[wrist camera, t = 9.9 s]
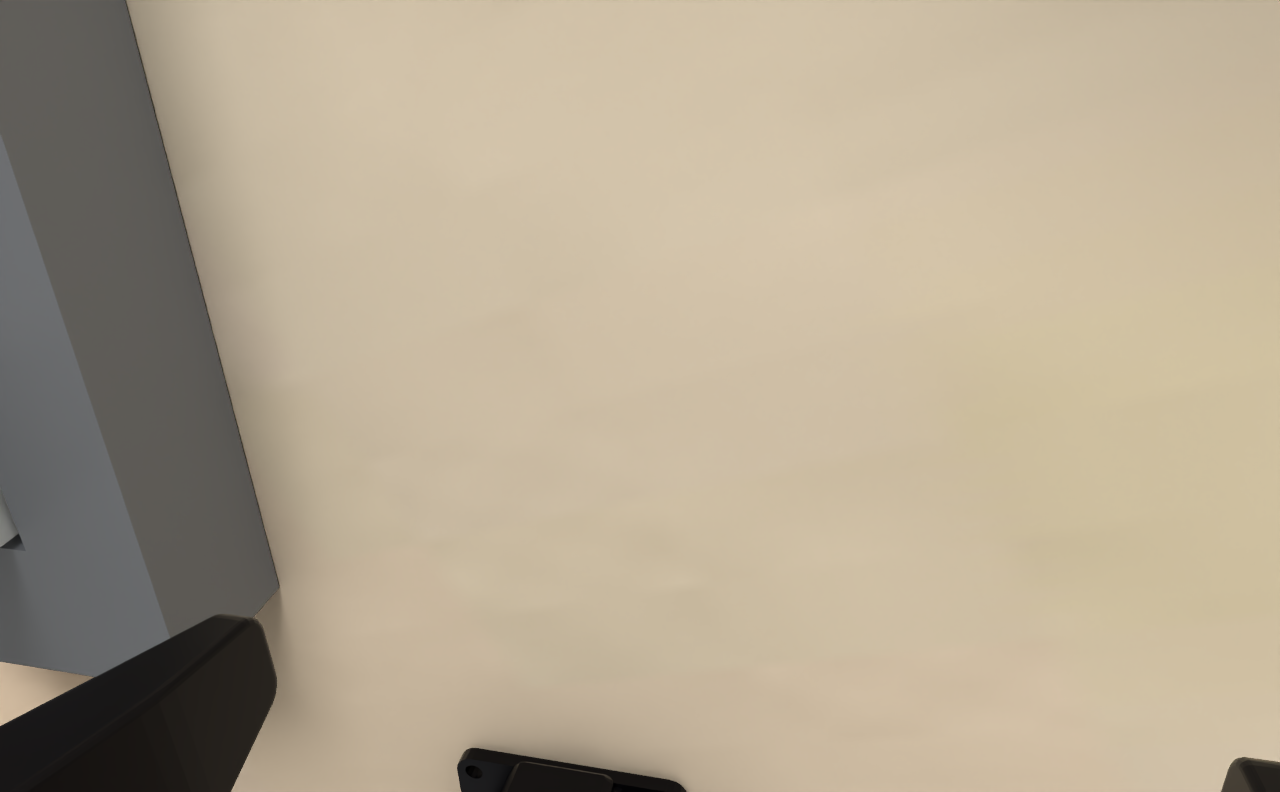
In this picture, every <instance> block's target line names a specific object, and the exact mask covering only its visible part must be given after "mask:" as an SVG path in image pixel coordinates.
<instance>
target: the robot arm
mask: <svg viewBox="0 0 1280 792" xmlns="http://www.w3.org/2000/svg"><path fill="white" fill-rule="evenodd" d="M276 688H277V677H276V672H275V669H274V665H273V662H272V658H271V655H270V651H269V647H268V644H267V640H266V637H265V633H264V630H263V627H262V625H261V624H260V623H259V622H258V620H257V619H254V618H252V617H247V616H240V615H233V614H217V615H214V616H212V617H210V618H208V619H206V620H204V621H202V622H200V623H198V624H196V625H194V626H192V627H191V628H189V629H187V630H185V631H183V632H181V633H179V634H177V635H175V636H173V637H171V638H169V639H167V640H166V641H164V642H162V643H160V644H158V645H156V646H154V647H152V648H150V649H148V650H146V651H144V652H142V653H141V654H139V655H137V656H135V657H133V658H131V659H129V660H127V661H125V662H123V663H121V664H119V665H117V666H115V667H114V668H112V669H110V670H108V671H106V672H104V673H102V674H100V675H98V676H96V677H94V678H92V679H90V680H88V681H87V682H85V683H83V684H81V685H79V686H77V687H75V688H73V689H71V690H69V691H67V692H65V693H63V694H61V695H60V696H58V697H56V698H54V699H52V700H50V701H48V702H46V703H44V704H42V705H40V706H38V707H36V708H34V709H33V710H31V711H29V712H27V713H25V714H23V715H21V716H19V717H17V718H15V719H13V720H11V721H9V722H8V723H6V724H4V725H2V726H0V792H231V790H232V788H233V786H234V784H235V782H236V780H237V777H238V775H239V773H240V771H241V769H242V767H243V765H244V763H245V761H246V758H247V756H248V754H249V752H250V750H251V748H252V746H253V744H254V742H255V739H256V737H257V735H258V733H259V731H260V729H261V727H262V725H263V723H264V720H265V718H266V716H267V714H268V712H269V710H270V708H271V706H272V703H273V701H274V698H275V694H276ZM457 770H458V776H459V781H460V787H461V792H686V790H685V789H684V788H683V787H682V786H681V785H680V784H678V783H677V782H674V781H671V780H667V779H661V778H655V777H649V776H643V775H637V774H630V773H624V772H618V771H612V770H606V769H600V768H594V767H588V766H582V765H576V764H570V763H564V762H558V761H552V760H545V759H539V758H533V757H527V756H521V755H515V754H509V753H503V752H497V751H491V750H485V749H479V748H470V749H468V750H466V751H465V752H464V753H463V755H462V757H461V759H460V761H459V763H458V767H457ZM1221 792H1280V762H1275V761H1268V760H1261V759H1254V758H1247V757H1242V758H1237V759H1235V760H1234V761H1233V762H1232V764H1231V765H1230V767H1229V769H1228V772H1227V775H1226V778H1225V781H1224V784H1223V788H1222V791H1221Z"/></svg>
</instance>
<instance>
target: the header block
mask: <svg viewBox="0 0 1280 792" xmlns="http://www.w3.org/2000/svg"><path fill="white" fill-rule="evenodd" d="M0 488H1V490H2V493H3V495H4V498H5V500H6V503H7V505H8V508H9V510H10V513H11V515H12V518H13V520H14V523H15V525H16V528H17V530H18V532H19V534H17V535H16V536H15V537H13V538H12V539H11V540H9V541H8V542H7V543H5V544H4V545H3V546H1V547H0V662H6V663H12V664H19V665H25V666H31V667H37V668H43V669H49V670H55V671H62V672H68V673H74V674H80V675H86V676H92V677H96V676H98V675H100V674H102V673H104V672H106V671H108V670H110V669H112V668H114V667H115V666H117V665H119V664H121V663H123V662H125V661H127V660H129V659H131V658H133V657H135V656H137V655H139V654H141V653H142V652H144V651H146V650H148V649H150V648H152V647H154V646H156V645H158V644H160V643H162V642H164V641H166V640H167V639H169V638H171V637H173V636H175V635H177V634H179V633H181V632H183V631H185V630H187V629H189V628H191V627H192V626H194V625H196V624H198V623H200V622H202V621H204V620H206V619H208V618H210V617H212V616H214V615H217V614H233V615H240V616H247V617H252V618H253V617H254V616H255V615H256V614H257V612H258V611H259V610H260V609H261V608H262V607H263V606H264V604H265V603H266V602H267V601H268V600H269V599H270V597H271V596H272V595H273V594H274V593H275V592H276V591H277V589H278V588H279V584H278V580H277V577H276V573H275V569H274V565H273V561H272V558H271V554H270V550H269V546H268V542H267V539H266V535H265V531H264V527H263V523H262V520H261V516H260V512H259V508H258V504H257V501H256V497H255V493H254V489H253V485H252V482H251V478H250V474H249V470H248V466H247V462H246V459H245V455H244V451H243V447H242V443H241V440H240V436H239V432H238V428H237V424H236V421H235V417H234V413H233V409H232V405H231V402H230V398H229V394H228V390H227V386H226V383H225V379H224V375H223V371H222V367H221V364H220V360H219V356H218V352H217V348H216V345H215V341H214V337H213V333H212V329H211V326H210V322H209V318H208V314H207V310H206V307H205V303H204V299H203V295H202V291H201V288H200V284H199V280H198V276H197V272H196V269H195V265H194V261H193V257H192V253H191V250H190V246H189V242H188V238H187V234H186V231H185V227H184V223H183V219H182V215H181V211H180V208H179V204H178V200H177V196H176V192H175V189H174V185H173V181H172V177H171V173H170V170H169V166H168V162H167V158H166V154H165V151H164V147H163V143H162V139H161V135H160V132H159V128H158V124H157V120H156V116H155V113H154V109H153V105H152V101H151V97H150V94H149V90H148V86H147V82H146V78H145V75H144V71H143V67H142V63H141V59H140V56H139V52H138V48H137V44H136V40H135V37H134V33H133V29H132V25H131V21H130V18H129V14H128V10H127V6H126V2H125V0H0Z"/></svg>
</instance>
